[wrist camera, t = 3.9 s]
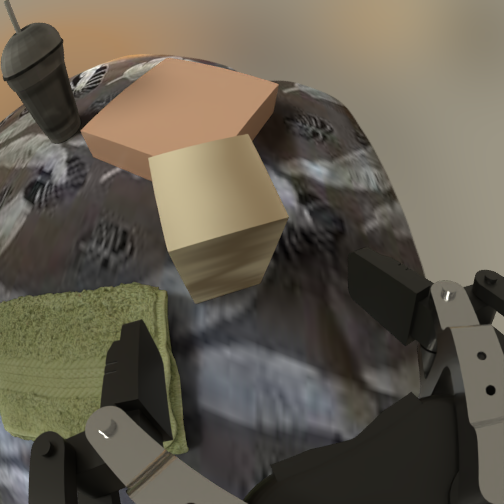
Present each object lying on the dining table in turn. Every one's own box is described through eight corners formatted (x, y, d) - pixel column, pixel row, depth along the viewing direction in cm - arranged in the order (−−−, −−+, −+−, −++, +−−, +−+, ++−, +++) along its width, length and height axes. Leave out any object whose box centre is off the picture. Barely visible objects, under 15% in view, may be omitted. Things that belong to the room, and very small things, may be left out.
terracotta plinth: (93, 157, 24) (80, 130, 20) (170, 83, 29) (167, 57, 25) (208, 205, 23) (205, 176, 19) (273, 112, 28) (278, 84, 24)
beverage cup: (68, 154, 24) (1, 2, 5) (32, 150, 24) (-33, 28, 5) (101, 110, 27) (62, -31, 8) (63, 110, 27) (20, -9, 8)
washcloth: (199, 450, 16) (194, 465, 13) (19, 434, 13) (-2, 439, 10) (170, 280, 20) (161, 266, 17) (5, 299, 18) (-15, 290, 15)
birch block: (195, 304, 19) (167, 252, 10) (177, 243, 21) (148, 158, 12) (260, 283, 20) (288, 216, 11) (238, 225, 22) (248, 133, 13)
